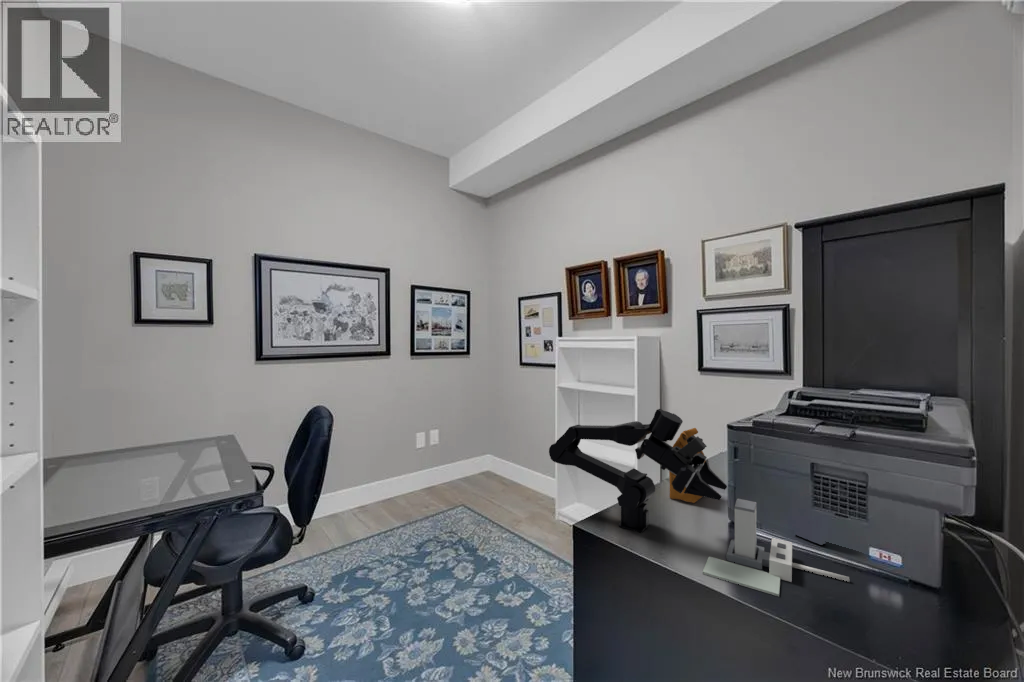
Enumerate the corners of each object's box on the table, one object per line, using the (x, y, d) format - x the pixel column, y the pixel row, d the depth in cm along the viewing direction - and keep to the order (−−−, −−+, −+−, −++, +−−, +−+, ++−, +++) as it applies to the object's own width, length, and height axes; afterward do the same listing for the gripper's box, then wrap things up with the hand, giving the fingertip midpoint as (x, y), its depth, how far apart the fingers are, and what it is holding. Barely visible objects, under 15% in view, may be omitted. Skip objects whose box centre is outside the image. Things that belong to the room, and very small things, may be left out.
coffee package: (712, 496, 133) (712, 429, 133) (695, 507, 125) (695, 435, 125) (682, 488, 141) (682, 424, 141) (664, 498, 132) (664, 430, 132)
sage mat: (702, 573, 90) (702, 571, 90) (708, 558, 96) (708, 556, 96) (779, 596, 82) (779, 594, 82) (780, 578, 88) (780, 576, 88)
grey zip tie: (725, 563, 94) (725, 547, 94) (732, 542, 104) (732, 527, 104) (852, 599, 81) (852, 580, 81) (846, 570, 91) (846, 554, 91)
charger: (734, 559, 95) (734, 506, 95) (737, 549, 100) (737, 498, 100) (754, 565, 93) (754, 510, 93) (756, 554, 98) (756, 502, 98)
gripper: (670, 434, 98) (736, 475, 90) (687, 423, 113) (744, 457, 105) (648, 472, 100) (710, 515, 92) (668, 457, 116) (722, 492, 108)
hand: (723, 492), depth 99 cm, fingers open, 9 cm apart
